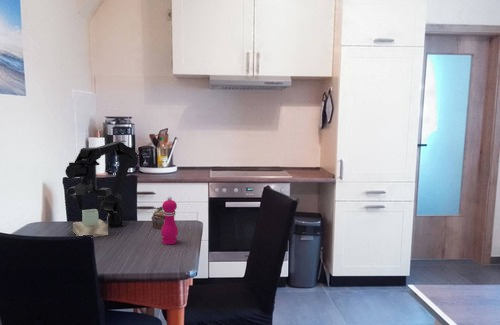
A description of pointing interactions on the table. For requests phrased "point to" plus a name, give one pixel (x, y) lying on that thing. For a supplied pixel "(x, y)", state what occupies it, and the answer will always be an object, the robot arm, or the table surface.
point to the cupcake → (158, 218)
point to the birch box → (90, 229)
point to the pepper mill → (169, 222)
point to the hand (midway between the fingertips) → (89, 209)
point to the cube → (90, 217)
